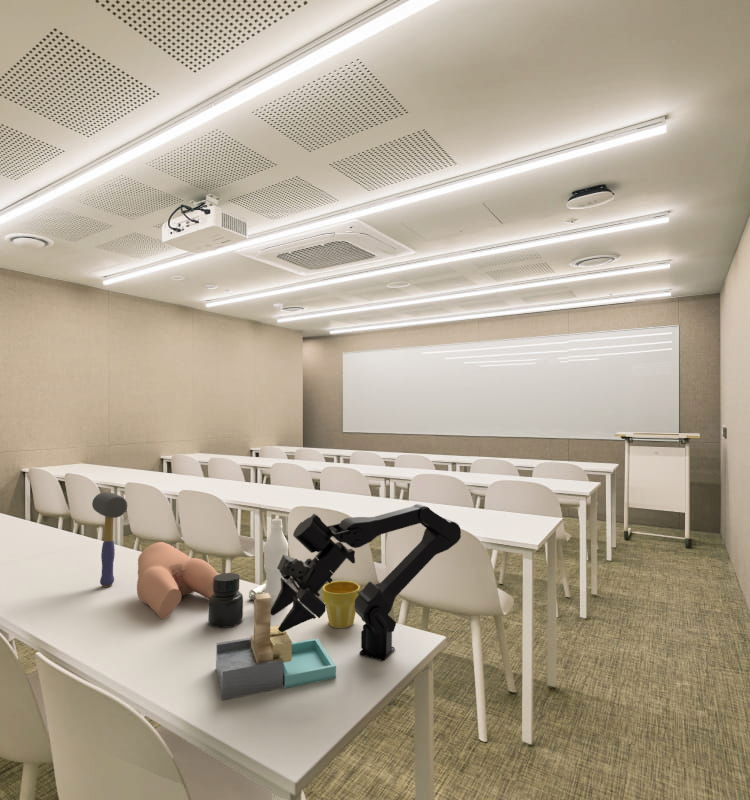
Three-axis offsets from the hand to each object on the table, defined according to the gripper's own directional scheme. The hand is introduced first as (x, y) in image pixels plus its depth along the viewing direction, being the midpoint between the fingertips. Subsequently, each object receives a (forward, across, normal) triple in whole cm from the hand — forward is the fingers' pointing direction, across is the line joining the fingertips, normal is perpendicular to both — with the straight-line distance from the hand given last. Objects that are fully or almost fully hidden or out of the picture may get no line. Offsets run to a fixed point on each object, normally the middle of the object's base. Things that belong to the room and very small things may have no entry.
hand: (275, 622), depth 106 cm
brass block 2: (+4, +2, +5) cm, 7 cm away
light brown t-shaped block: (+7, 0, +3) cm, 7 cm away
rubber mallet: (+36, -73, -20) cm, 84 cm away
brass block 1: (+4, -2, +5) cm, 7 cm away
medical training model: (+22, -52, -6) cm, 57 cm away
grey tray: (+12, 0, +4) cm, 12 cm away
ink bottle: (+13, -31, +3) cm, 34 cm away
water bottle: (+2, -38, +14) cm, 40 cm away
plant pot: (-8, -19, +23) cm, 31 cm away
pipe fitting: (+4, -46, +12) cm, 48 cm away
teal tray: (+3, 0, +12) cm, 13 cm away
